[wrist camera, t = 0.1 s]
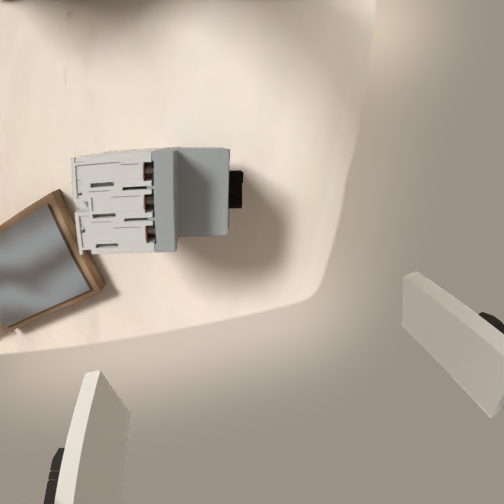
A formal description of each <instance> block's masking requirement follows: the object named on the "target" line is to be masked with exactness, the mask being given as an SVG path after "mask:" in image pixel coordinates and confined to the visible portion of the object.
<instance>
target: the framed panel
mask: <svg viewBox="0 0 504 504" xmlns="http://www.w3.org/2000/svg"><path fill="white" fill-rule="evenodd" d="M83 252H84V253H83V255H80V253H79V246H78V239H77V231H76V225H75V223H74V221H73V219H72V217H71V214H70V212H69V210H68V208H67V205H66V203H65V201H64V199H63V196H62V194H61V191H60V189H58V190H56V191H54V192H52V193H50V194H48V195H47V196H45V197H43V198H42V199H40V200H38V201H37V202H35V203H34V204H32V205H30V206H29V207H27V208H26V209H24V210H23V211H21V212H19V213H18V214H16V215H15V216H13V217H12V218H10V219H9V220H8V221H6V222H5V223H3V224H2V225H0V323H1V325H2V326H3V328H4V329H5V331H6V332H9V331H12V330H14V329H16V328H18V327H21V326H23V325H25V324H28V323H30V322H32V321H34V320H37V319H39V318H41V317H44V316H46V315H48V314H51V313H53V312H55V311H57V310H60V309H62V308H64V307H67V306H69V305H71V304H74V303H76V302H79V301H81V300H83V299H86V298H88V297H90V296H93V295H95V294H97V293H100V292H101V291H102V289H103V287H104V285H105V282H104V280H103V278H102V277H101V275H100V273H99V271H98V269H97V267H96V265H95V264H94V262H93V260H92V258H91V256H90V254H89V252H88V250H83Z"/></svg>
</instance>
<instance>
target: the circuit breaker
mask: <svg viewBox="0 0 504 504" xmlns="http://www.w3.org/2000/svg"><path fill="white" fill-rule="evenodd" d="M229 160H230V149H225V148H181V147H174V148H148V149H130V150H119V151H117V150H116V151H108V152H104V153H100V154H94V155H85V156H79V157H76V158H71V169H72V188H73V202H79V209H78V210H77V211H76V212H75V222H76V231H77V239H78V246H79V253H80V255H83V253H84V252H83V250H91V253H92V254H118V253H149V252H175V251H176V250H177V240H178V237H185V236H217V235H228V228H229V208H242V183H243V172H242V171H229ZM77 181H78V184H77ZM78 189H79V191H78ZM80 219H81V221H80ZM81 224H82V226H81Z"/></svg>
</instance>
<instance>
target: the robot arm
mask: <svg viewBox="0 0 504 504" xmlns="http://www.w3.org/2000/svg"><path fill="white" fill-rule="evenodd" d="M401 326H402V327H403V328H404V329H405V330H406V331H407V332H408V333H409V334H410V335H411V336H412V337H413V338H414V339H415V340H416V341H417V342H418V343H419V344H420V345H421V346H422V347H423V348H424V349H425V350H426V351H427V352H428V353H429V354H430V355H431V356H432V357H433V358H434V359H435V360H436V361H437V362H438V363H439V364H440V365H441V366H442V367H443V368H444V369H445V371H446V372H447V373H448V374H449V375H450V376H451V377H452V378H453V379H454V380H455V381H456V382H457V383H458V384H459V385H460V386H461V387H462V388H463V389H464V390H465V391H466V393H468V395H469V396H470V397H471V398H472V399H473V400H474V401H475V402H476V403H477V404H478V405H479V407H480V408H481V409H482V410H483V411H484V412H485V413H486V414H487V415H488V416H489V417H490V418H492V417H493V416H494V415H495V414H496V413H497V412H499V411H500V410H501V409H502V408H503V407H504V325H503V323H502V322H501V321H500V320H498V319H497V318H496V317H494V316H492V315H489V314H487V313H484V312H482V313H480V314H477V313H475V312H474V311H472V310H471V309H470V308H468V307H467V306H466V305H464V304H463V303H462V302H460V301H459V300H458V299H456V298H455V297H453V296H452V295H450V294H449V293H448V292H446V291H445V290H443V289H442V288H441V287H439V286H438V285H436V284H435V283H433V282H432V281H431V280H429V279H428V278H426V277H425V276H423V275H422V274H420V273H419V272H417V271H415V272H413V273H410V274H408V275H405V276H404V277H403V304H402V324H401ZM129 419H130V411H129V410H128V408H127V407H126V406H125V404H124V403H123V402H122V400H121V399H120V398H119V396H118V395H117V394H116V392H115V391H114V390H113V388H112V387H111V385H110V384H109V382H108V381H107V379H106V378H105V376H104V375H103V374H102V372H101V371H100V370H99V371H94V372H89V373H86V374H85V377H84V380H83V383H82V387H81V390H80V393H79V397H78V400H77V404H76V407H75V410H74V414H73V418H72V422H71V425H70V429H69V433H68V437H67V441H66V446H65V448H59V449H58V451H57V453H56V454H55V456H54V458H53V460H52V464H51V469H50V470H51V472H50V474H49V478H48V479H49V481H48V483H47V489H46V494H45V500H44V504H124V485H125V467H126V453H127V452H126V451H127V440H128V430H129Z"/></svg>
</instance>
